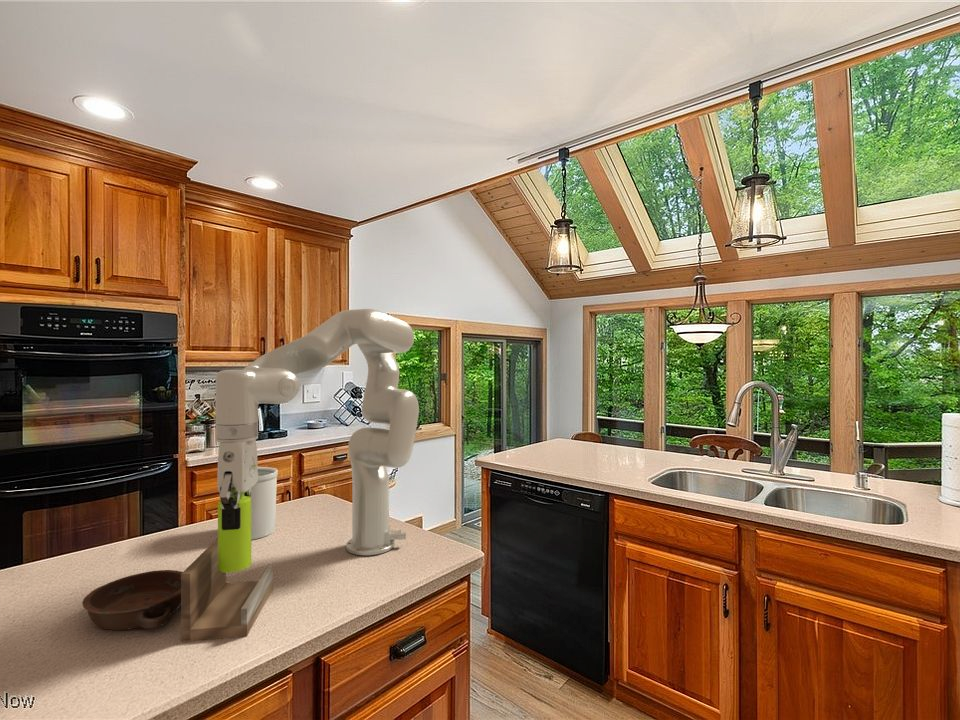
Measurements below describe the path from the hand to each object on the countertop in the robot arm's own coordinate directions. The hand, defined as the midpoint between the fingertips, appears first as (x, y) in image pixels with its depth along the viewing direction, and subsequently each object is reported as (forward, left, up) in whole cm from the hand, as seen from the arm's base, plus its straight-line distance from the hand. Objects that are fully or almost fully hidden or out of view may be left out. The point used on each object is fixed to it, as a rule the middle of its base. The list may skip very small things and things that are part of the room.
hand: (237, 522), depth 96 cm
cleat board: (+1, 0, -18) cm, 18 cm away
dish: (+19, -3, -18) cm, 27 cm away
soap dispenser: (0, 0, -9) cm, 9 cm away
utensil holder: (+11, -46, -18) cm, 51 cm away
